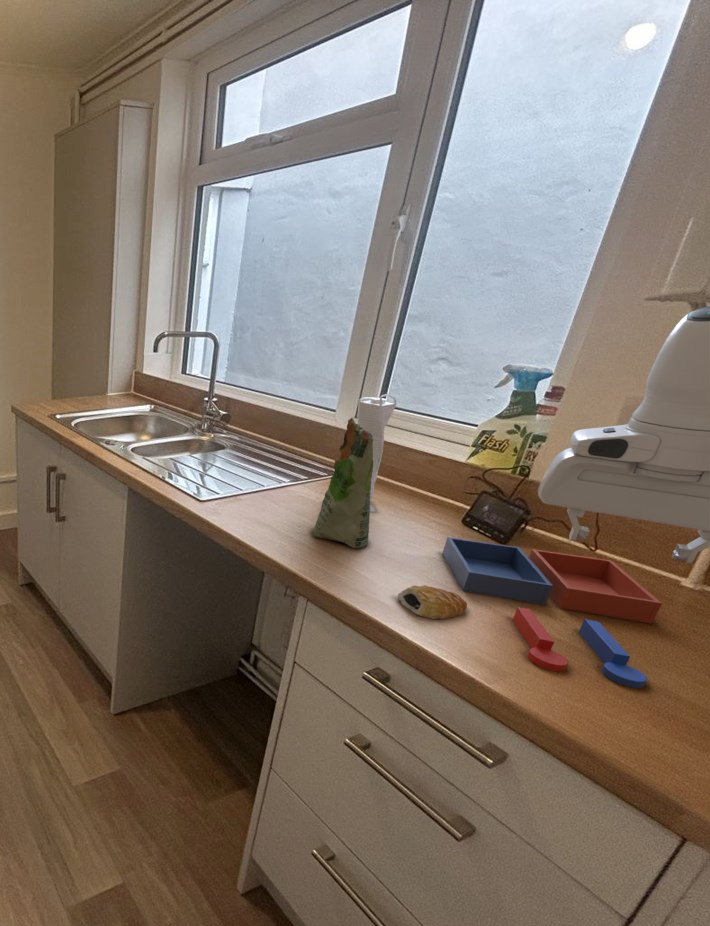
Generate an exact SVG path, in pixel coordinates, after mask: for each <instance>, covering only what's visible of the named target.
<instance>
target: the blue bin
mask: <svg viewBox="0 0 710 926" xmlns="http://www.w3.org/2000/svg"><path fill="white" fill-rule="evenodd" d="M441 555H442V557H443V558H444V560H445V562H446V563H447V565H448V567H449V569H450V571H451V573H452V575H453V576H454V578H455V580H456V581H457V583H458V585H459V587H460V588H461V590H462V591H463V592H467V593H474V594H478V595H485V596H491V597H496V598H503V599H508V600H514V601H520V602H525V603H531V604H537V605H542V606H545V605H546V604H547V601H548V599H549V598H550V596H549V595H550V592H551V590H552V588H553V585H552V584H551V583H550V582H549V580H548V579H547V578H546V577H545V576H544V575H543V574H542V572H541V571H540V570H539V569H538V568H537V567H536V566H535V564H534V563H533V562H532V561H531V560H530V559H529V555H527V554H526V553H525V552H524V550H522V548H521V547H520V546H512V545H506V544H500V543H492V542H484V541H478V540H472V539H471V540H470V539H464V538H457V537H449V536H447V538H446V541H445V544H444V547H443V550H442V553H441Z"/></svg>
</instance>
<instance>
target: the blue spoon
mask: <svg viewBox="0 0 710 926" xmlns="http://www.w3.org/2000/svg"><path fill="white" fill-rule="evenodd" d="M578 634H579V635H580V636H581V637H582V639H583V640H585V642H586V643H587V644H588V645H589V647H590V648H591V649H592V651H593V652H594V653H595V654H596V655H597V656H598V658H599V659H600V660H601V661H602V662H603V666H602V667H601V673H602V675H604V676H605V677H606V678H607V679H609V680H611V681H614V682H615V683H617V684H620V685H622V686H626V687H630V688H638V689H641V688H643V687H644V686H645V685H646V683H647V681H648V677H647V675H645V673H643V672H642V671H641V670H639V669H637V668H634V667H632V666H630V665H627V664H628V663H629V662H628V661H629V660H630V658H631V655H629V653H628V652H627V651H626V650H625V649H624V648H623V647H622V646H621V645H620V643H619V642H618V641H617V640H616V639H615V638H614V637H613V636H612V634H610V632H609V631H608V630H606V628H605V627H604V626H603V625H602V623H600V621H598V620H592V619H587V618H584V619H583V621H582V623H581V626H580V628H579V630H578Z"/></svg>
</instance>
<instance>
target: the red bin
mask: <svg viewBox="0 0 710 926" xmlns="http://www.w3.org/2000/svg"><path fill="white" fill-rule="evenodd" d="M528 558H529V559H530V560H531V561H532V562H533V563H534V564H535V566H536V567H537V568H538V569H539V570H540V571H541V572H542V574H543V575H544V576H545V577H546V578H547V579H548V580H549V582H550V583H551V584H552V585H553V588H552V590H551V592H550V595H549V598H551V599H552V600H553V602H554V603H555V604H556V605H557V607H558V608H559V609H565V610H571V611H577V612H583V613H589V614H594V615H595V614H596V615H601V616H607V617H611V618H612V617H613V618H617V619H618V618H619V619H623V620H628V621H634V622H635V621H636V622H641V623H647V624H653V622H654V620H655V619H656V617H657V614H658V613H659V611H660V608H661V606H662V605H663V602H661V600H659V599H658V598H656V597H655V596H654V595H653V594H652V593H651V592H650V591H649V590H647V589H646V588H645V587H643V585H641V584H640V583H639V582H638V581H637V580H636V579H634V578H633V577H632V576H631V575H630V574H628V573H627V572H626V571H625V570H624V569H623V568H621V566H619V564H617V563H616V562H615V561H613V560H611V559H605V558H597V557H591V556H590V557H589V556H585V555H584V556H583V555H575V554H569V553H563V552H555V551H549V550H540V549H535V548H531V551H530V553H529V555H528Z"/></svg>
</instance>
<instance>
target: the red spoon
mask: <svg viewBox="0 0 710 926" xmlns="http://www.w3.org/2000/svg"><path fill="white" fill-rule="evenodd" d="M512 622H513V623H514V625H515V626H516V628H517V630H518V631H519V632H520V634H521V635H522V636H523V638H524V639H525V641H526V642H527V644H528V645H529V647H530V649H529V651H528V653H527V659H529V661H530V662H532V663H533V664H535V665H537V666H538V667H540V668H543V669H546V670H549V671H554V672H564V671H566V669H567V667H568V665H569V660H568V659H567V658H566V657H565V656H564V655H562V654H561V653H559V652H557V651H554V650H552V648H553V646H554V644H555V641H554V639H553V638H552V637H551V635H550V634H549V632H548V631H547V630H546V628H545V627H544V625H542V623H541V622H540V620H539V619H538V618H537V617H536V615H535V614H534V612H533V611H532V610H531V608H525V607H519V606H517V607H516V610H515V612H514V615H513V618H512Z"/></svg>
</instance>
